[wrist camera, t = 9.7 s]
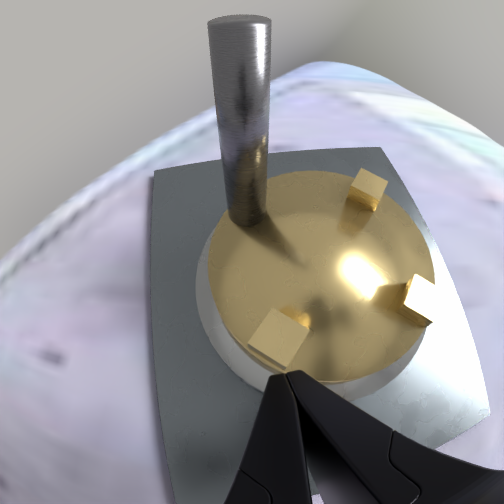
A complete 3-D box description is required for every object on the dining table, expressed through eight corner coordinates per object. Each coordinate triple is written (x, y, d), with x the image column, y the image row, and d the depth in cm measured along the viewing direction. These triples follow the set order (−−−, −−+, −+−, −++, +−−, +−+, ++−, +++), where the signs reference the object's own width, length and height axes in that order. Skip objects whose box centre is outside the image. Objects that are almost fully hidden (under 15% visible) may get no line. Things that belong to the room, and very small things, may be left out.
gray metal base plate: (485, 415, 13) (503, 412, 11) (180, 507, 11) (171, 518, 9) (378, 151, 25) (384, 135, 23) (156, 175, 23) (150, 158, 21)
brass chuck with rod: (276, 428, 12) (373, 505, 2) (182, 234, 17) (123, 36, 7) (450, 311, 14) (591, 179, 4) (345, 172, 20) (383, 13, 10)
